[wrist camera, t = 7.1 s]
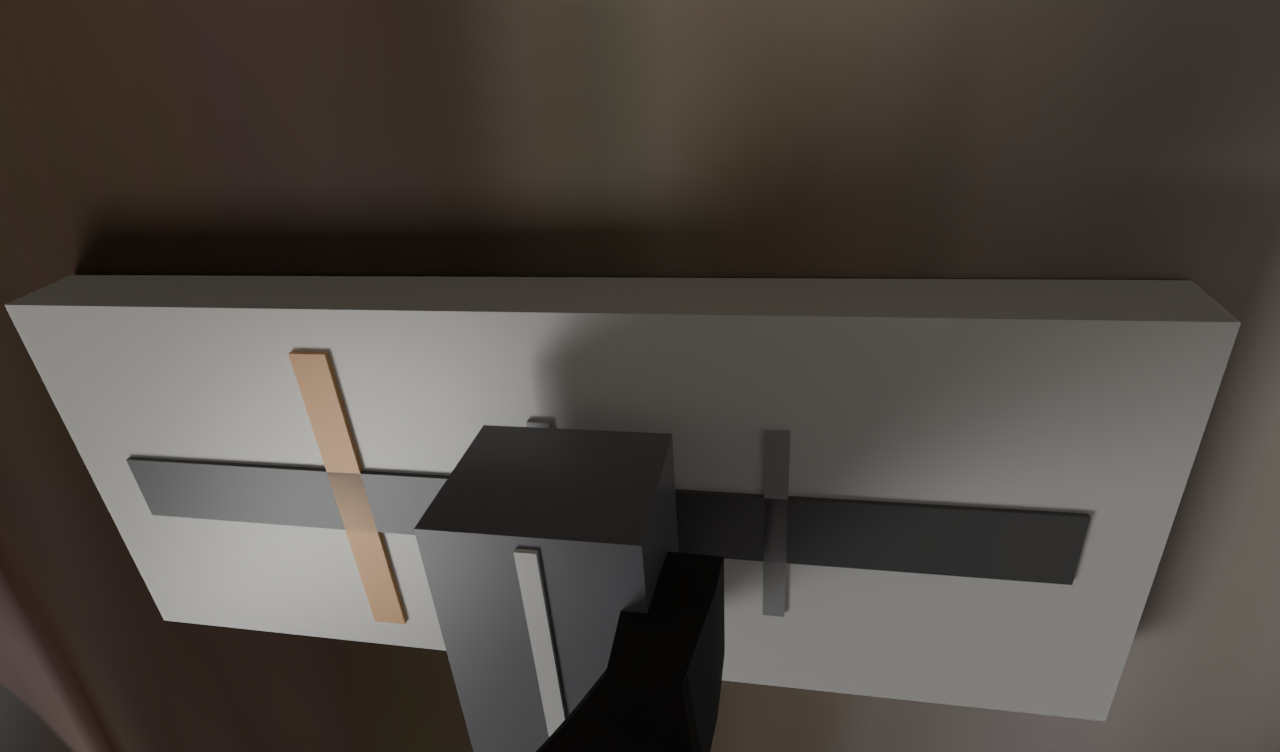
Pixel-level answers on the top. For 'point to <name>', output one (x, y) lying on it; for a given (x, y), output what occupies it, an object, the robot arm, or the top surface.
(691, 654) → the robot arm
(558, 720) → the fader knob
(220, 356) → the fader board
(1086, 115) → the top surface
